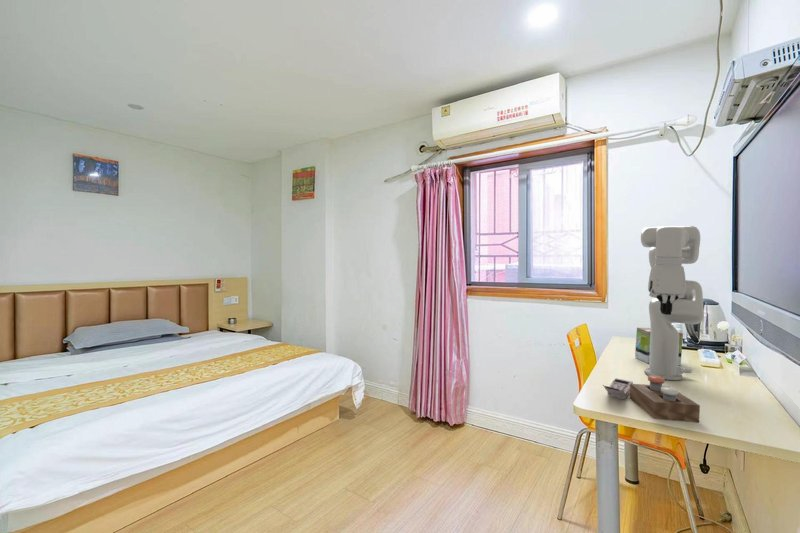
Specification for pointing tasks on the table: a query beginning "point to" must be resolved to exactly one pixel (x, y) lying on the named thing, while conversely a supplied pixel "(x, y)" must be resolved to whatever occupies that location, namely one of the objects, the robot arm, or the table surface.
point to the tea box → (644, 344)
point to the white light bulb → (669, 393)
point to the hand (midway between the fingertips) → (665, 313)
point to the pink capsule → (655, 382)
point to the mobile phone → (619, 388)
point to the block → (664, 404)
